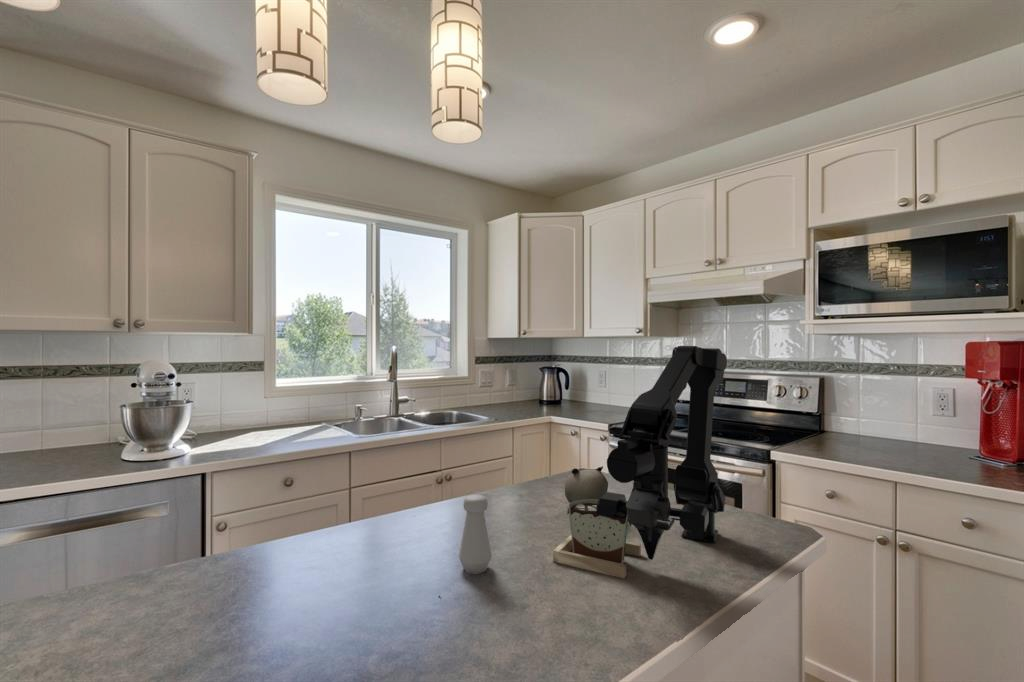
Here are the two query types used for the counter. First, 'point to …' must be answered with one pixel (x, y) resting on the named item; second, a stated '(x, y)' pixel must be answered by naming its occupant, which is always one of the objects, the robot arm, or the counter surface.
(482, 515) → the salt shaker
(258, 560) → the counter surface
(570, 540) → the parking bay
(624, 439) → the robot arm
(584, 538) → the food container
